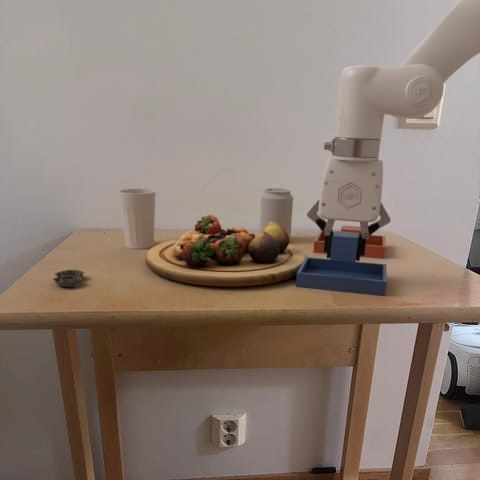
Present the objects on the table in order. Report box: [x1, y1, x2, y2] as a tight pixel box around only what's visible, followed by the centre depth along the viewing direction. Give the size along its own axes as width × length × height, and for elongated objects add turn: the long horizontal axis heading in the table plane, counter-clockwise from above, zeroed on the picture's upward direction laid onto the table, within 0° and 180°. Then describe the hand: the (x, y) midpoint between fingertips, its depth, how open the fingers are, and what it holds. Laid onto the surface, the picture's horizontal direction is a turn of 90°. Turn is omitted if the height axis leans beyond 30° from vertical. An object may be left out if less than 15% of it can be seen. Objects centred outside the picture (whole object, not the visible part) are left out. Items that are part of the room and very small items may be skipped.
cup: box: [117, 188, 156, 250], centre depth 108 cm, size 8×8×12 cm
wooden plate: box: [144, 214, 306, 287], centre depth 96 cm, size 32×32×8 cm
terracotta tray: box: [312, 230, 387, 259], centre depth 111 cm, size 15×11×2 cm
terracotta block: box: [340, 224, 361, 236], centre depth 110 cm, size 4×4×4 cm
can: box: [259, 187, 294, 239], centre depth 116 cm, size 8×8×12 cm
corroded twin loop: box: [52, 269, 85, 288], centre depth 85 cm, size 5×8×1 cm, turn 12°
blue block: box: [329, 230, 359, 263], centre depth 86 cm, size 4×4×4 cm
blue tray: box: [295, 256, 388, 297], centre depth 88 cm, size 15×11×2 cm
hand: (343, 256), depth 87 cm, fingers closed on blue block, 4 cm apart
